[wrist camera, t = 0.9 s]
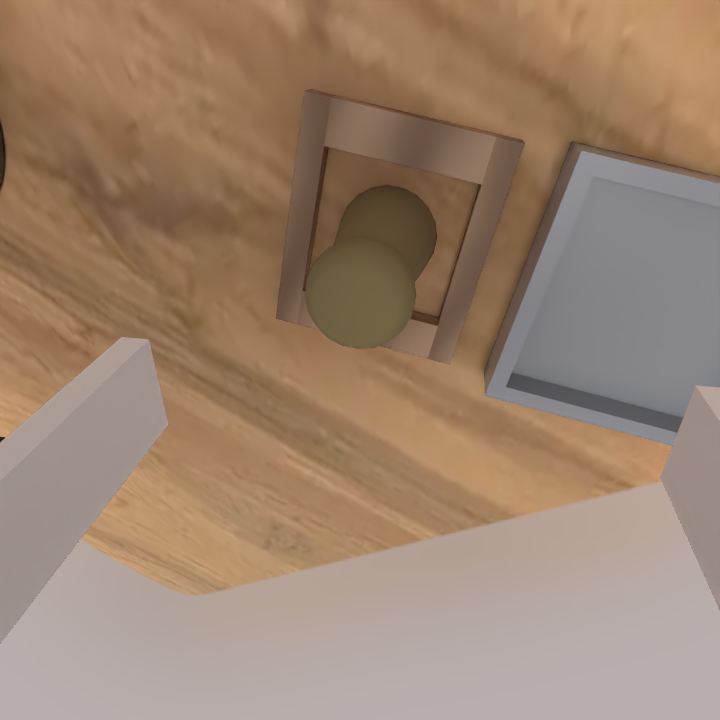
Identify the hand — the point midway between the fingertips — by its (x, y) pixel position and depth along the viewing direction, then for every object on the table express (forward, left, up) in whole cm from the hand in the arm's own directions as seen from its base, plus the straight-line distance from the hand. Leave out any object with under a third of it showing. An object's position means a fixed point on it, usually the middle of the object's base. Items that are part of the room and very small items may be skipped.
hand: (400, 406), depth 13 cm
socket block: (-3, -3, -21) cm, 22 cm away
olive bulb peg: (-3, -3, -22) cm, 22 cm away
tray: (+13, -3, -21) cm, 25 cm away
